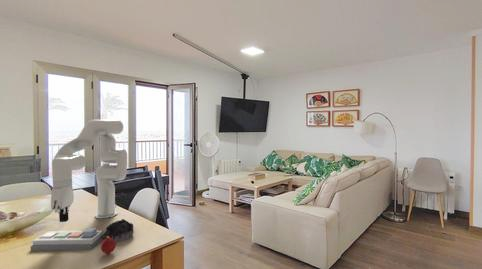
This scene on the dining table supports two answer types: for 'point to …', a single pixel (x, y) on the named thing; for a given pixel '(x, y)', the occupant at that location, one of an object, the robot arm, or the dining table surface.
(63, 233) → the key sage
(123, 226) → the crystal cluster
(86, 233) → the key slate
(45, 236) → the key ivory
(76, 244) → the keypad board
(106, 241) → the onion
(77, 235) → the key terracotta
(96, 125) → the robot arm
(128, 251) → the dining table surface
